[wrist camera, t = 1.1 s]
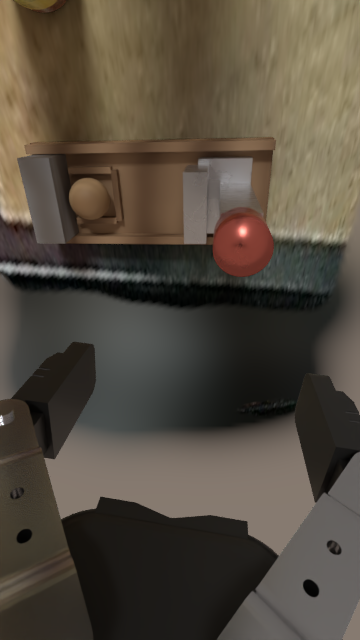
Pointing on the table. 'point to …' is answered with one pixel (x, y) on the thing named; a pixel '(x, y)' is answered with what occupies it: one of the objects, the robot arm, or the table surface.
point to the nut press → (127, 186)
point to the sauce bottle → (42, 5)
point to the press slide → (226, 214)
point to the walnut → (89, 198)
